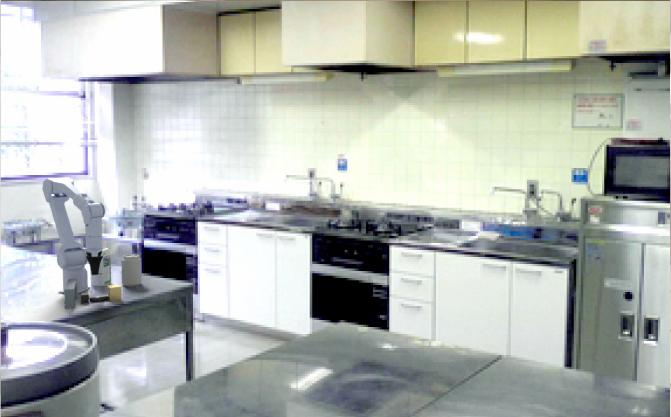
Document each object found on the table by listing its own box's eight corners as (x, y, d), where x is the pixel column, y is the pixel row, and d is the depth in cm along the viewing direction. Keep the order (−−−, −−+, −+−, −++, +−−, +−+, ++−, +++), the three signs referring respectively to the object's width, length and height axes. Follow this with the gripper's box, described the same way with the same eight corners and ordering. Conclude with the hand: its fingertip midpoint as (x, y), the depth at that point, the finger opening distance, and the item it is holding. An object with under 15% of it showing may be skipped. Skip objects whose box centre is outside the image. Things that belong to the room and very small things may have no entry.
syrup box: (103, 286, 261) (102, 250, 259) (90, 285, 262) (89, 249, 261) (111, 283, 267) (110, 247, 265) (98, 282, 268) (97, 247, 266)
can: (117, 285, 263) (117, 256, 262) (130, 282, 270) (129, 252, 268) (133, 287, 260) (132, 257, 259) (145, 283, 267) (145, 254, 266)
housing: (64, 308, 229) (64, 289, 228) (68, 296, 245) (68, 278, 244) (74, 307, 230) (73, 289, 229) (77, 296, 246) (77, 278, 245)
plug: (82, 304, 234) (81, 290, 234) (80, 301, 238) (80, 288, 237) (121, 300, 241) (121, 286, 241) (119, 297, 245) (118, 284, 244)
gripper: (82, 233, 246) (83, 269, 248) (82, 239, 233) (83, 277, 235) (102, 232, 249) (103, 268, 250) (103, 238, 235) (104, 276, 237)
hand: (94, 272), depth 243 cm, fingers open, 7 cm apart
